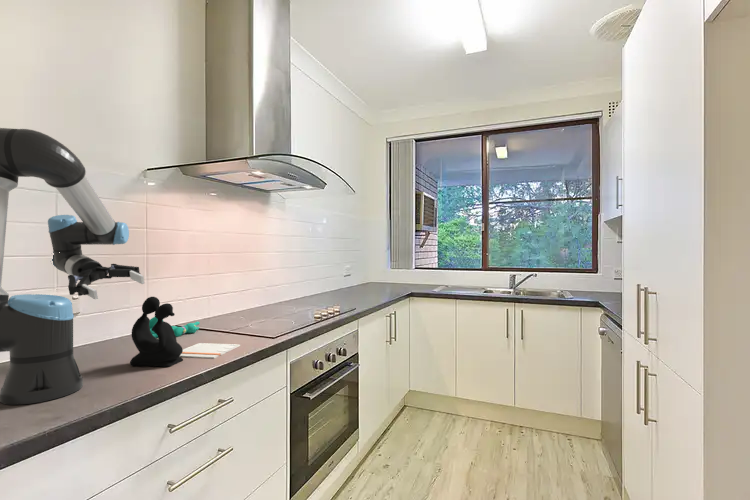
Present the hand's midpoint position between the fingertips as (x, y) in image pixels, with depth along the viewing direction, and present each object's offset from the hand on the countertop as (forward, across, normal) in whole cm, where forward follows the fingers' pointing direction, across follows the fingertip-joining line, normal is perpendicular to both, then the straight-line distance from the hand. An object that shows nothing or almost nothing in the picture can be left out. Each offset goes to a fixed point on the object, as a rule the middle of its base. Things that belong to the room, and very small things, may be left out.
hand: (120, 287), depth 120 cm
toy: (-18, -23, -35) cm, 46 cm away
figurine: (+16, 0, -20) cm, 26 cm away
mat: (+17, -15, -24) cm, 33 cm away
